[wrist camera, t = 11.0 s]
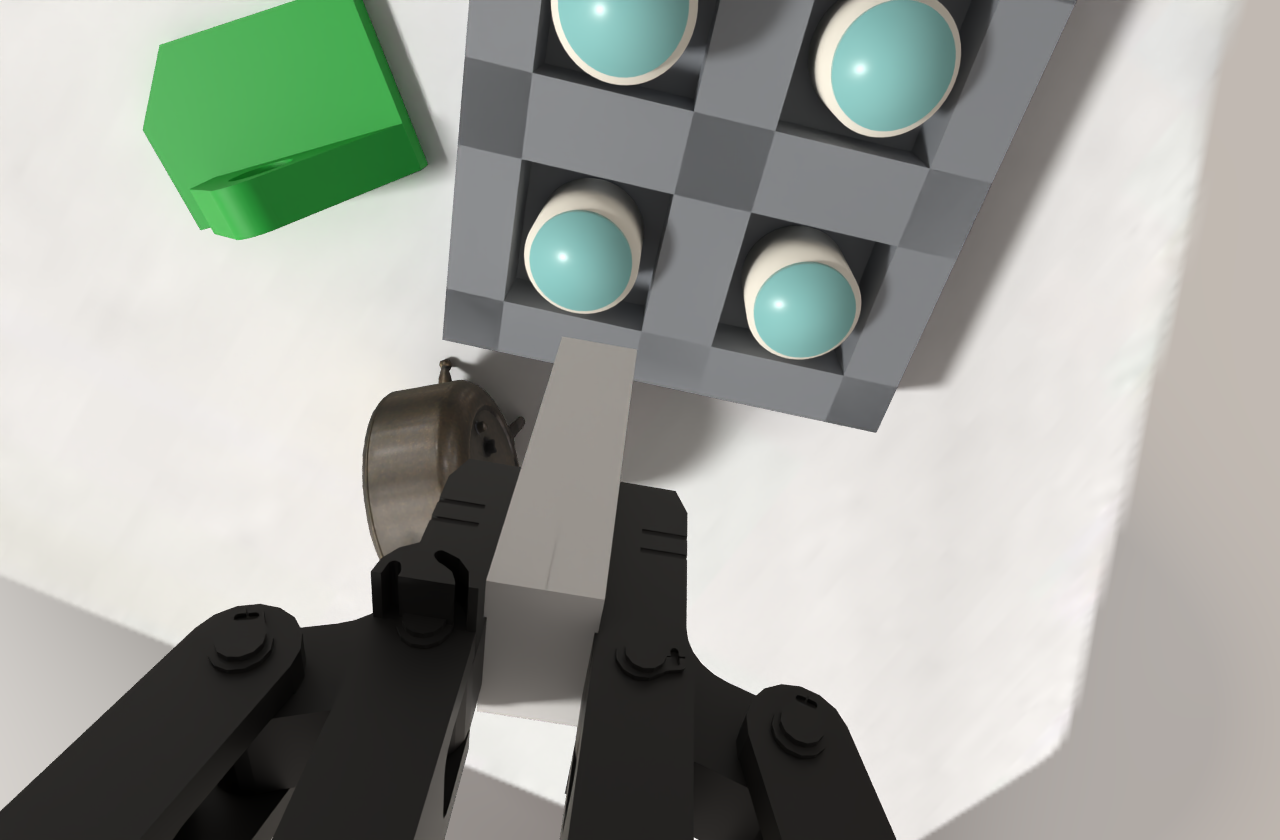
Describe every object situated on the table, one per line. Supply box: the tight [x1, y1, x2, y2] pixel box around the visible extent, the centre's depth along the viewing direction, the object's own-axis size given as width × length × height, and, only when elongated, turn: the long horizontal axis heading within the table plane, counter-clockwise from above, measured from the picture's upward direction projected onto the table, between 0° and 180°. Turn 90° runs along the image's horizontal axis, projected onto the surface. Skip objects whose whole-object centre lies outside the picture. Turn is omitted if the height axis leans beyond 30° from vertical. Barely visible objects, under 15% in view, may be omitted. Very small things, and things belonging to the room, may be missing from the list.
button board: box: [442, 0, 1077, 433], centre depth 33 cm, size 22×22×4 cm
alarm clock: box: [362, 359, 525, 559], centre depth 37 cm, size 11×5×16 cm, turn 11°
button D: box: [524, 178, 644, 314], centre depth 34 cm, size 5×5×4 cm
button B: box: [741, 226, 861, 359], centre depth 35 cm, size 5×5×4 cm
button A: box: [808, 0, 961, 137], centre depth 29 cm, size 5×5×4 cm
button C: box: [551, 0, 698, 85], centre depth 27 cm, size 5×5×4 cm
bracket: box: [143, 0, 428, 240], centre depth 32 cm, size 12×8×7 cm, turn 105°
